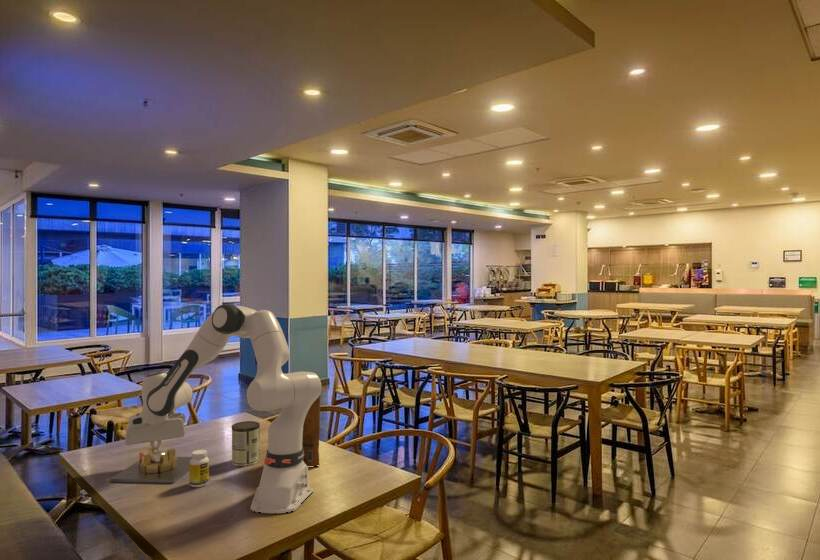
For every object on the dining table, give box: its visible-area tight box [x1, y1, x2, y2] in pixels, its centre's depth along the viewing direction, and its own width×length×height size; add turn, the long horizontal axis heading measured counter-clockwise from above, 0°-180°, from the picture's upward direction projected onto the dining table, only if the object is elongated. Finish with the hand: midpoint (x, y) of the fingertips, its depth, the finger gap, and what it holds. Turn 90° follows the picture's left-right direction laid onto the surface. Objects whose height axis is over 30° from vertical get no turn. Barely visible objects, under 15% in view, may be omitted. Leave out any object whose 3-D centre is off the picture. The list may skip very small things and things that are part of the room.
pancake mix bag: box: [302, 394, 322, 466], centre depth 193 cm, size 7×19×28 cm, turn 57°
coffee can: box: [231, 420, 261, 467], centre depth 195 cm, size 10×10×14 cm
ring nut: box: [140, 447, 178, 473], centre depth 185 cm, size 14×12×5 cm
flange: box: [110, 450, 193, 485], centre depth 185 cm, size 22×22×6 cm
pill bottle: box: [188, 449, 210, 488], centre depth 173 cm, size 6×6×11 cm
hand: (155, 452), depth 191 cm, fingers closed
